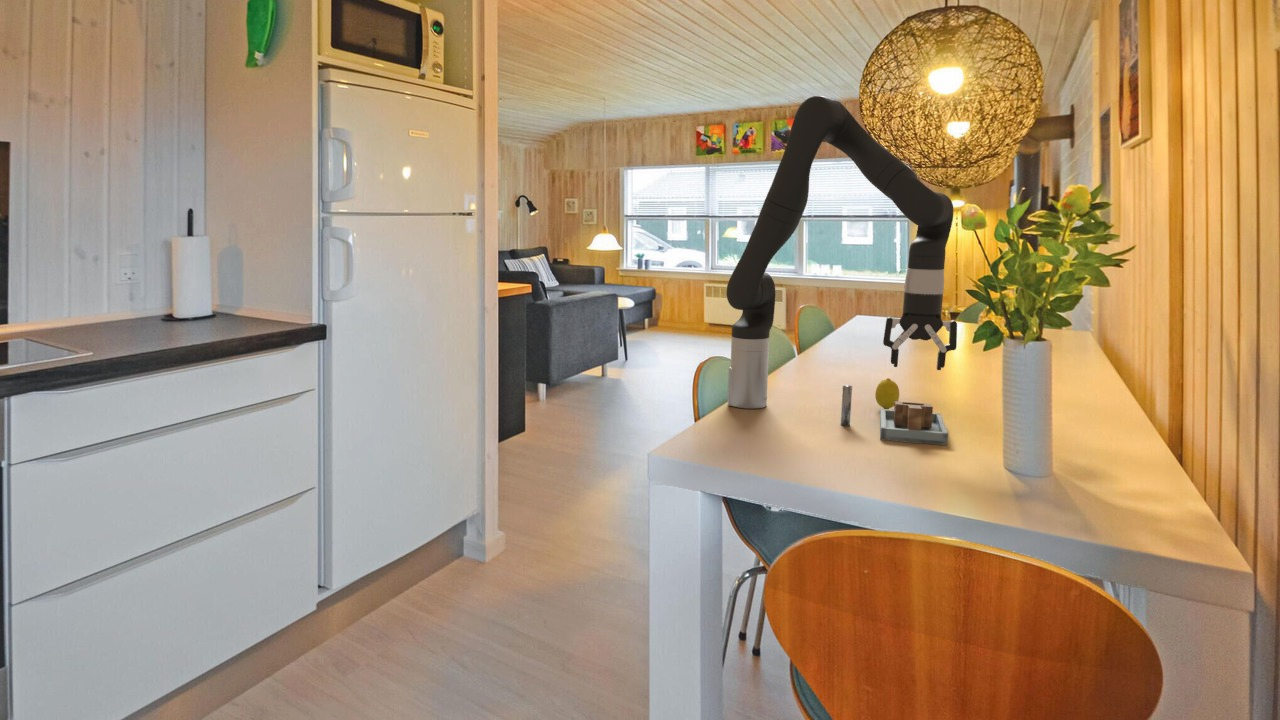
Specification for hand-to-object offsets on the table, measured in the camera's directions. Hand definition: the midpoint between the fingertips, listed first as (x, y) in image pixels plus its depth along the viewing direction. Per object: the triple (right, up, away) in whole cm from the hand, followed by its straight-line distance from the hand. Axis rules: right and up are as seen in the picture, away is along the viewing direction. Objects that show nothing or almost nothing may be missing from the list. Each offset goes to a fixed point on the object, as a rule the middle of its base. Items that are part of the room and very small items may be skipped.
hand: (916, 368), depth 155 cm
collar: (+1, -13, +5) cm, 13 cm away
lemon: (+2, -11, +26) cm, 28 cm away
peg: (-12, -13, +11) cm, 21 cm away
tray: (+1, -14, +6) cm, 15 cm away
